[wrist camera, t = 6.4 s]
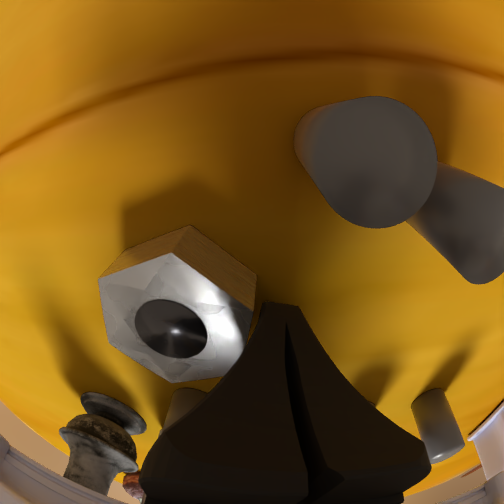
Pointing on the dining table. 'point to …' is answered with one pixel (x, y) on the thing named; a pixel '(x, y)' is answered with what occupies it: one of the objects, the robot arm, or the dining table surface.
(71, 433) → the grey tall stone piece
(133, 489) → the pastry
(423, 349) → the dining table surface
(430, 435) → the spacers
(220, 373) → the nut
